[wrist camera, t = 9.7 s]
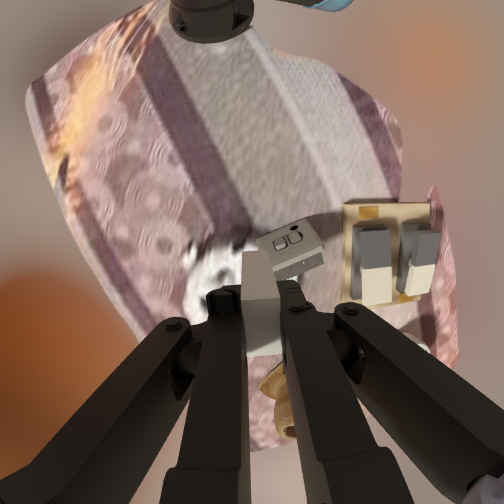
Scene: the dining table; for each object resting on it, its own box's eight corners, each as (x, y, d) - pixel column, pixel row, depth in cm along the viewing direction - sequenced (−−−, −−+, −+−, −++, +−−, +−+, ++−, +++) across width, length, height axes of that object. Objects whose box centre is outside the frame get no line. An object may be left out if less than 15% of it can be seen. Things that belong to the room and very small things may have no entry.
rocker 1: (357, 232, 43) (363, 231, 41) (383, 230, 43) (389, 229, 41) (360, 303, 44) (365, 306, 41) (385, 299, 44) (391, 301, 41)
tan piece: (288, 403, 58) (296, 452, 44) (250, 382, 56) (252, 434, 41) (336, 365, 55) (357, 413, 41) (301, 340, 53) (317, 391, 38)
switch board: (342, 203, 45) (350, 206, 41) (424, 202, 45) (435, 205, 41) (340, 308, 51) (346, 317, 47) (415, 296, 51) (424, 303, 47)
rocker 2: (412, 229, 41) (420, 234, 39) (433, 228, 41) (441, 232, 39) (402, 289, 46) (408, 296, 44) (422, 286, 46) (428, 292, 44)
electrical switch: (305, 216, 46) (321, 233, 37) (315, 243, 48) (332, 264, 39) (254, 238, 47) (259, 260, 38) (266, 264, 48) (272, 289, 40)
